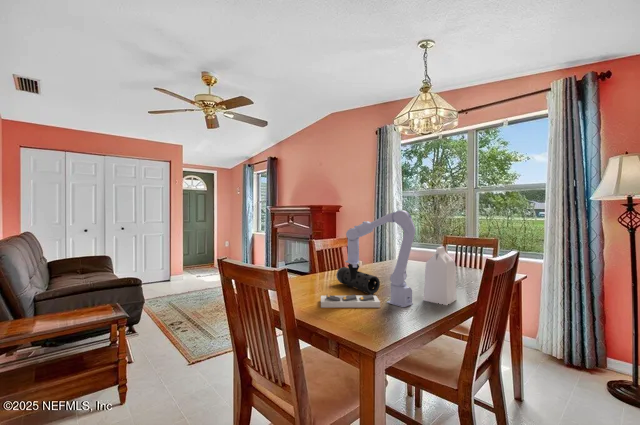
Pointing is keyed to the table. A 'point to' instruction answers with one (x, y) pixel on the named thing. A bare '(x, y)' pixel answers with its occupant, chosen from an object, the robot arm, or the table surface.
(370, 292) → the black foam roller
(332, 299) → the rocker
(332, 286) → the table surface
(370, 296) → the rocker
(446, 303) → the milk
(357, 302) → the switch strip
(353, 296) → the middle rocker
